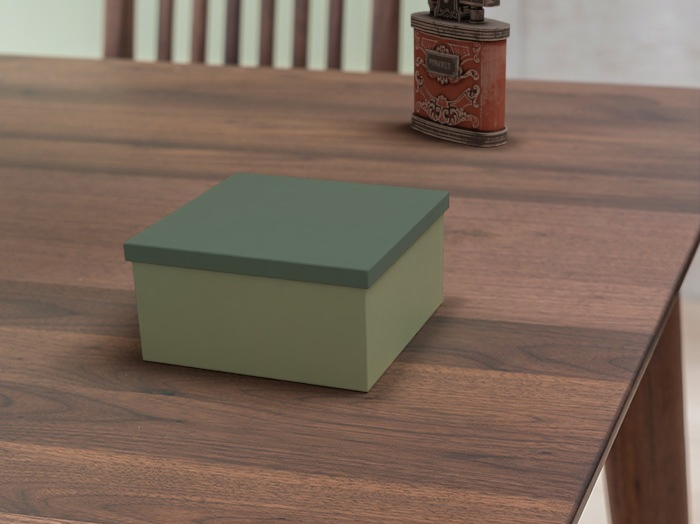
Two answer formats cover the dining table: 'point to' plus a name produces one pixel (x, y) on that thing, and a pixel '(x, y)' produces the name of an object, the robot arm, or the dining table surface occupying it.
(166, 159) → the dining table surface
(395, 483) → the dining table surface
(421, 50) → the lighter
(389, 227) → the lidded box
